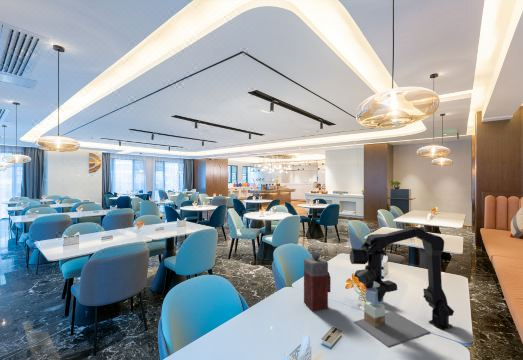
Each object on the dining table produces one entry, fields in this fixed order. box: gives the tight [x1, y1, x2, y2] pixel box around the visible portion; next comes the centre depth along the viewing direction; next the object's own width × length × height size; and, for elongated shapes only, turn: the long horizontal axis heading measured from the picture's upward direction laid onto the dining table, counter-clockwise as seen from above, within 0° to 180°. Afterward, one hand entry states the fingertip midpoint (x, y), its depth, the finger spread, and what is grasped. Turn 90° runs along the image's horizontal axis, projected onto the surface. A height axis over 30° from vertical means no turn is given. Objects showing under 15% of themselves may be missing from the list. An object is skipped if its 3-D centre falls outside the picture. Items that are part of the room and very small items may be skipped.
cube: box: [365, 287, 384, 305], centre depth 112 cm, size 5×5×5 cm
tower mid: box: [363, 301, 386, 318], centre depth 112 cm, size 6×6×4 cm
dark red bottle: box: [303, 249, 332, 312], centre depth 128 cm, size 9×11×28 cm
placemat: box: [353, 310, 431, 348], centre depth 109 cm, size 24×18×1 cm
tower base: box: [363, 311, 385, 327], centre depth 113 cm, size 6×6×4 cm
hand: (374, 299), depth 112 cm, fingers closed on cube, 5 cm apart
